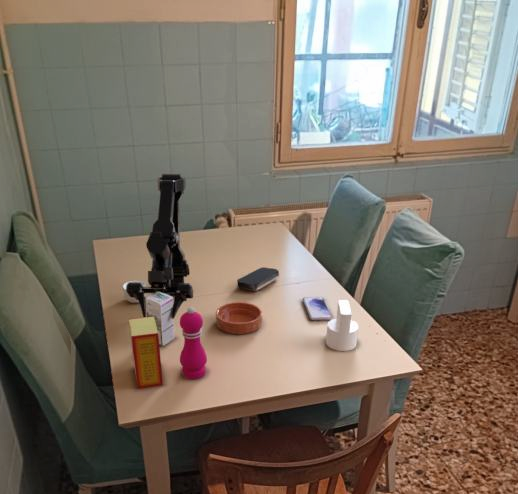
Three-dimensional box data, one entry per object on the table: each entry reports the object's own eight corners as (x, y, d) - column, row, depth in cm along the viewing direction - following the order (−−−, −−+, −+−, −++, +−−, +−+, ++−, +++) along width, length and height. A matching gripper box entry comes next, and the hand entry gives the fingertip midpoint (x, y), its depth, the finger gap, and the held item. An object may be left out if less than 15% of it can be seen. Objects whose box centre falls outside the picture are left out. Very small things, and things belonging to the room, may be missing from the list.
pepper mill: (196, 383, 150) (193, 317, 140) (175, 374, 153) (170, 309, 143) (212, 370, 155) (210, 305, 145) (191, 362, 159) (188, 298, 148)
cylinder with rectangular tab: (324, 334, 173) (327, 299, 167) (354, 335, 173) (358, 300, 166) (326, 350, 165) (330, 314, 159) (357, 351, 165) (362, 315, 159)
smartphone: (322, 296, 193) (332, 317, 180) (322, 299, 193) (332, 320, 181) (302, 297, 192) (310, 318, 179) (301, 299, 193) (310, 320, 180)
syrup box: (175, 338, 170) (174, 295, 162) (162, 347, 165) (160, 303, 158) (160, 332, 172) (158, 289, 164) (147, 340, 168) (144, 297, 160)
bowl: (209, 318, 180) (208, 307, 178) (248, 309, 186) (248, 298, 184) (228, 339, 170) (228, 327, 168) (269, 328, 176) (270, 317, 173)
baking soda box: (134, 368, 155) (128, 317, 147) (158, 365, 157) (153, 314, 149) (137, 388, 148) (131, 335, 139) (162, 385, 149) (158, 332, 141)
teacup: (123, 296, 193) (121, 282, 190) (145, 293, 195) (144, 279, 192) (126, 309, 185) (124, 294, 182) (150, 306, 187) (148, 292, 184)
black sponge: (254, 295, 195) (254, 285, 193) (234, 288, 199) (234, 278, 198) (281, 279, 207) (281, 270, 205) (262, 273, 211) (262, 264, 209)
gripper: (123, 256, 159) (119, 309, 155) (190, 257, 159) (187, 310, 155) (132, 271, 170) (128, 321, 166) (194, 272, 170) (192, 322, 166)
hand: (158, 318), depth 163 cm, fingers closed on syrup box, 8 cm apart
